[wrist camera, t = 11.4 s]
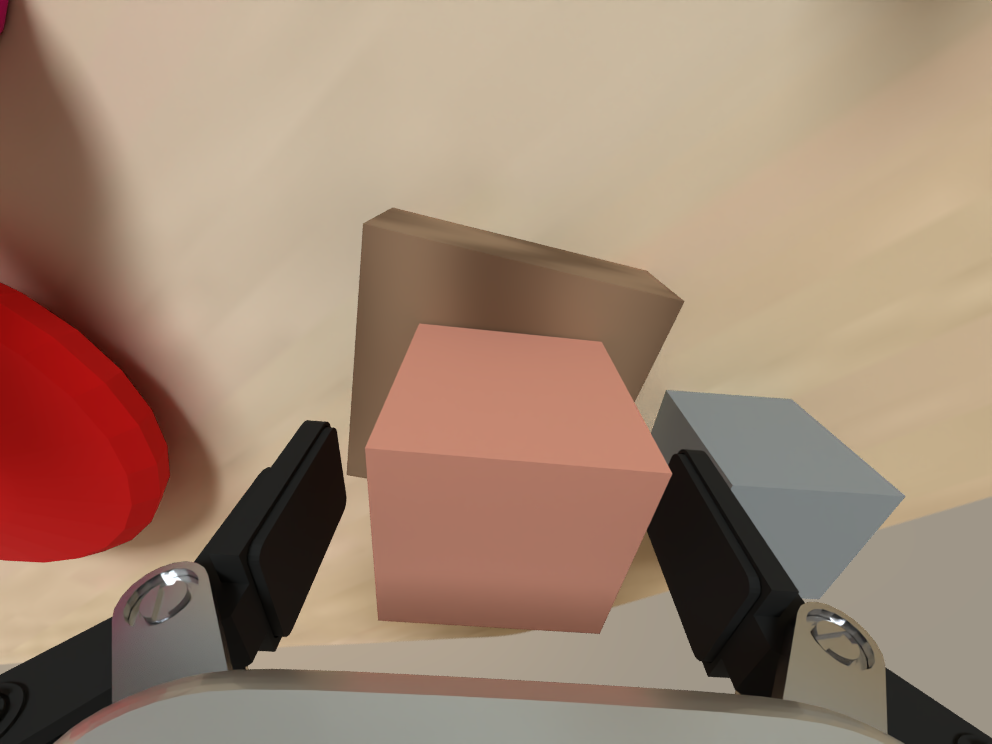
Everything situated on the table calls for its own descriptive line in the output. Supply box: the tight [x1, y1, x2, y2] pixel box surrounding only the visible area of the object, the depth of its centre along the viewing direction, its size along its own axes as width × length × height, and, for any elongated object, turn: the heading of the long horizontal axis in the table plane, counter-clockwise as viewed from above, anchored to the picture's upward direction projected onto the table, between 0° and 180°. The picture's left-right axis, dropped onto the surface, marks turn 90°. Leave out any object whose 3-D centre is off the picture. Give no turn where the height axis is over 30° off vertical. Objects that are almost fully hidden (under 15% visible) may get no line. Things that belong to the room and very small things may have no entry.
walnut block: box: [347, 208, 684, 478], centre depth 16 cm, size 10×10×4 cm
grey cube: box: [651, 390, 905, 599], centre depth 17 cm, size 6×6×6 cm
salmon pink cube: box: [365, 324, 672, 634], centre depth 12 cm, size 6×6×6 cm
